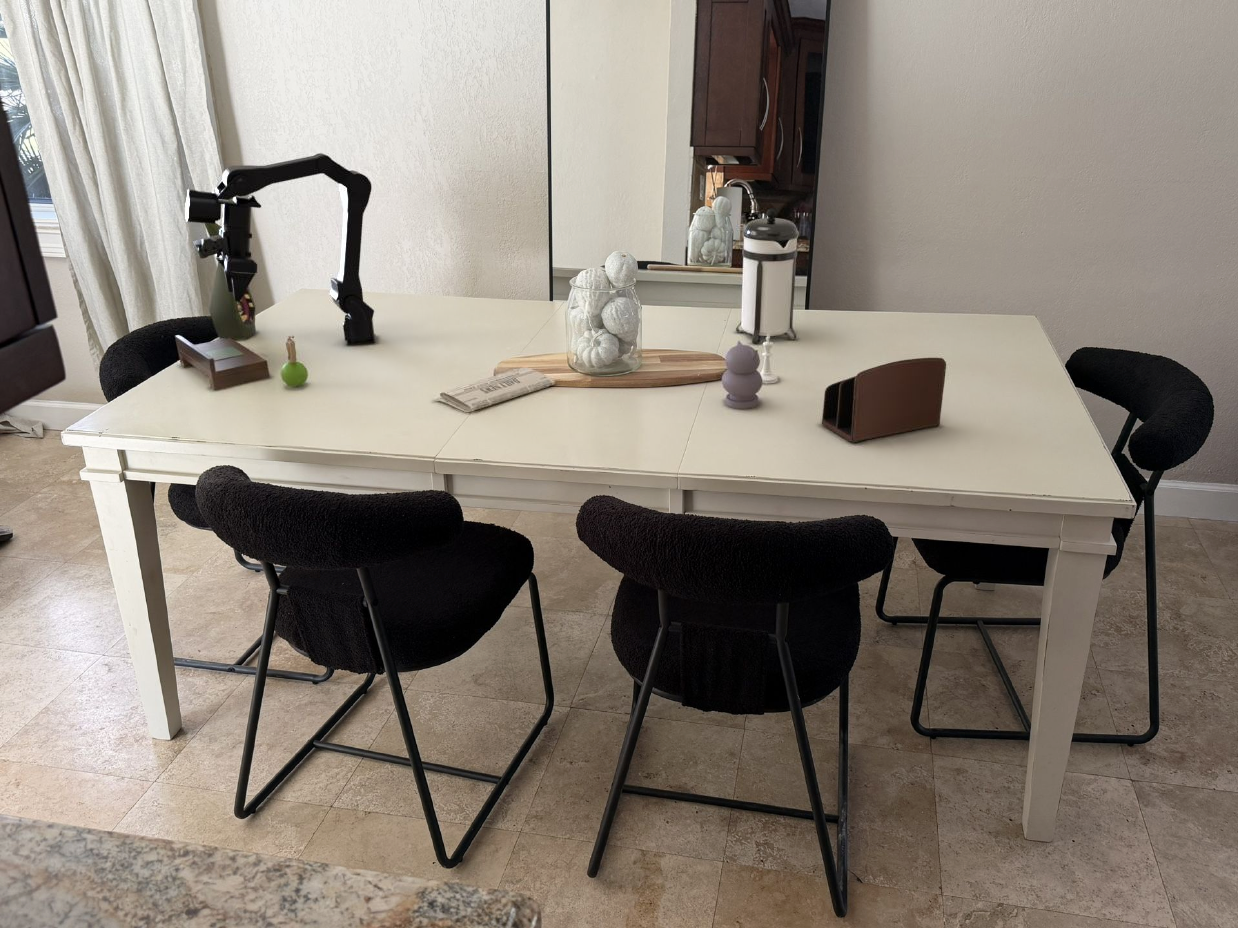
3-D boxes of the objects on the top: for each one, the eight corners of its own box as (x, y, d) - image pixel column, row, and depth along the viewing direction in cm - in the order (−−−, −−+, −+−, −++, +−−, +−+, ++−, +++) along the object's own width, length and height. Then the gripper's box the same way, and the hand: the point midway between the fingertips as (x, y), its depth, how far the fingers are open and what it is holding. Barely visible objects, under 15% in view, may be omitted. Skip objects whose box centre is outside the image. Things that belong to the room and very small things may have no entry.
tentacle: (210, 342, 245) (186, 217, 232) (233, 327, 256) (211, 207, 243) (246, 343, 244) (224, 217, 231) (267, 328, 255) (248, 207, 242)
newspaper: (517, 372, 221) (517, 361, 220) (554, 391, 213) (555, 380, 212) (431, 398, 206) (431, 387, 205) (467, 419, 199) (467, 408, 198)
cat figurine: (713, 399, 204) (715, 342, 199) (747, 393, 207) (749, 336, 202) (734, 413, 197) (736, 354, 192) (769, 406, 200) (772, 348, 195)
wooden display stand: (233, 354, 236) (228, 325, 233) (269, 377, 220) (264, 347, 217) (180, 365, 229) (174, 335, 226) (214, 390, 214) (208, 359, 211)
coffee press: (808, 331, 245) (817, 205, 233) (781, 348, 233) (788, 217, 220) (744, 320, 254) (748, 199, 241) (714, 337, 241) (717, 210, 229)
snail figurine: (286, 393, 211) (277, 338, 206) (280, 384, 216) (271, 330, 211) (313, 389, 213) (304, 334, 208) (306, 380, 219) (298, 326, 214)
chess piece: (780, 377, 215) (783, 332, 211) (773, 385, 211) (776, 339, 207) (758, 374, 217) (760, 329, 213) (751, 381, 213) (753, 336, 209)
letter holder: (940, 426, 189) (949, 354, 183) (851, 444, 182) (858, 370, 176) (906, 408, 198) (914, 339, 192) (820, 425, 191) (825, 353, 185)
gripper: (191, 215, 225) (190, 285, 230) (203, 230, 210) (201, 304, 215) (244, 220, 230) (241, 288, 235) (259, 235, 215) (256, 307, 220)
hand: (234, 296), depth 226 cm, fingers open, 9 cm apart
